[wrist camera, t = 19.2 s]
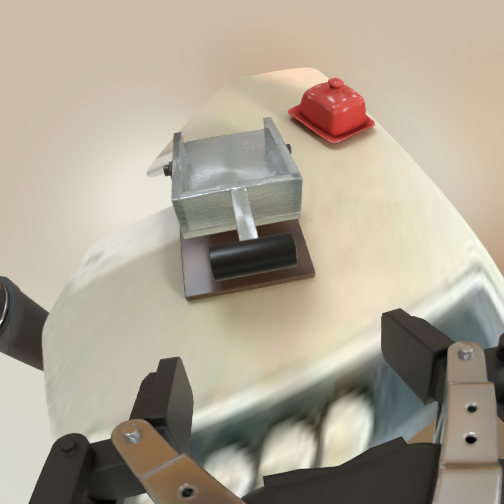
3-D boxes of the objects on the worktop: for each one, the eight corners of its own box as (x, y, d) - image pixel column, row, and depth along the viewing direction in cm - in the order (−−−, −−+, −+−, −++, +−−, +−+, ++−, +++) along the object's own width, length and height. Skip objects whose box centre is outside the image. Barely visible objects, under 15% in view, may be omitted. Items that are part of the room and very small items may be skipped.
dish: (327, 288, 22) (336, 243, 18) (189, 315, 22) (169, 275, 18) (264, 134, 36) (262, 98, 32) (182, 148, 36) (173, 113, 32)
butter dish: (330, 151, 45) (337, 104, 38) (284, 116, 50) (284, 73, 43) (377, 129, 48) (387, 88, 41) (331, 99, 53) (335, 60, 46)
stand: (314, 276, 34) (325, 230, 27) (187, 301, 33) (164, 260, 26) (286, 192, 41) (288, 140, 34) (180, 211, 40) (163, 162, 33)
